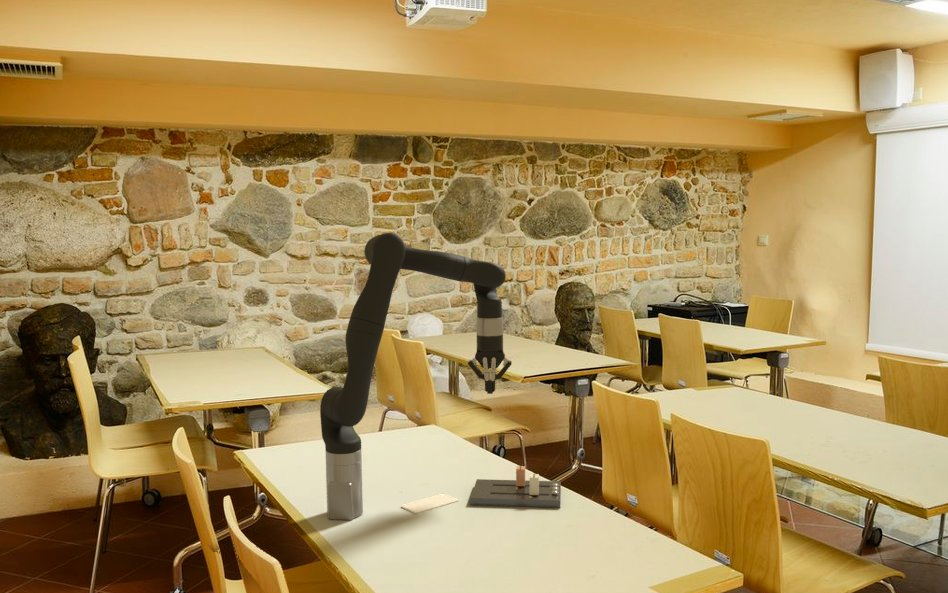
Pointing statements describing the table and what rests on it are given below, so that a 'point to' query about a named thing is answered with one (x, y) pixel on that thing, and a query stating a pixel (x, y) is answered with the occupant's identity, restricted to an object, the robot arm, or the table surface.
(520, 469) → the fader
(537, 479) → the fader
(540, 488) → the console
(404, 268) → the robot arm
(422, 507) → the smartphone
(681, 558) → the table surface
